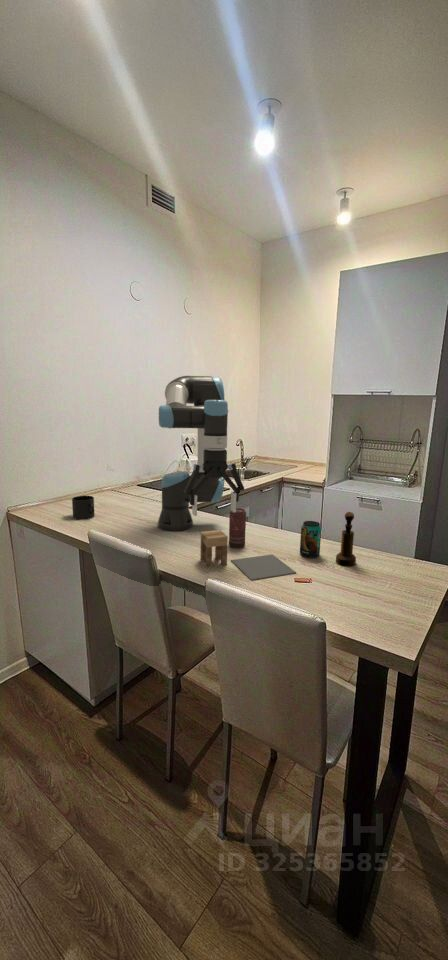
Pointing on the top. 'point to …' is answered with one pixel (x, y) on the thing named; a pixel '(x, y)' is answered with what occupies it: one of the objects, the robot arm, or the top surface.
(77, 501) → the mug
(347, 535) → the dark brown chess piece
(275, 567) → the mat
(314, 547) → the beverage can
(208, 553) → the stool
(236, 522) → the can
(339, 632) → the top surface
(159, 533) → the top surface
